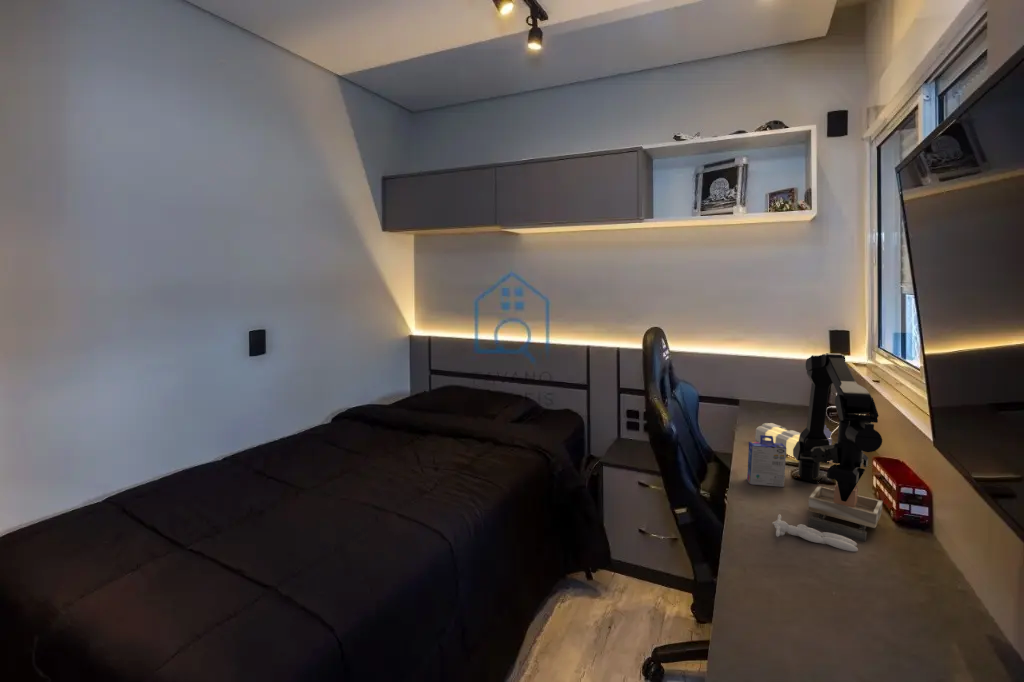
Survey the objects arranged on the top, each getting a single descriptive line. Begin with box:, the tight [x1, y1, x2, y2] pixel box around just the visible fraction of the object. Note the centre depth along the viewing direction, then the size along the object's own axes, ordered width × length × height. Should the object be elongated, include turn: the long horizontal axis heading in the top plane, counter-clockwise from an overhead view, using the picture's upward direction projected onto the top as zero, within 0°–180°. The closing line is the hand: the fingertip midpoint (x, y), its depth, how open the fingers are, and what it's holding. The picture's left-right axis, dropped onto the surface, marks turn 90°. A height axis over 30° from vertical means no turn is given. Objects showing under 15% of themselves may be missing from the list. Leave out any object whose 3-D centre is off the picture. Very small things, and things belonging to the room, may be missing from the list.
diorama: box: [754, 422, 833, 462], centre depth 189 cm, size 25×10×13 cm, turn 16°
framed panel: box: [808, 515, 868, 542], centre depth 140 cm, size 28×12×2 cm, turn 138°
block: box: [833, 482, 859, 508], centre depth 136 cm, size 4×4×4 cm
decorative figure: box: [771, 514, 859, 552], centre depth 127 cm, size 4×12×18 cm
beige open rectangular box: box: [807, 485, 884, 529], centre depth 137 cm, size 11×15×5 cm
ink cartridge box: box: [746, 435, 787, 488], centre depth 161 cm, size 10×6×14 cm, turn 79°
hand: (845, 498), depth 136 cm, fingers closed on block, 4 cm apart
